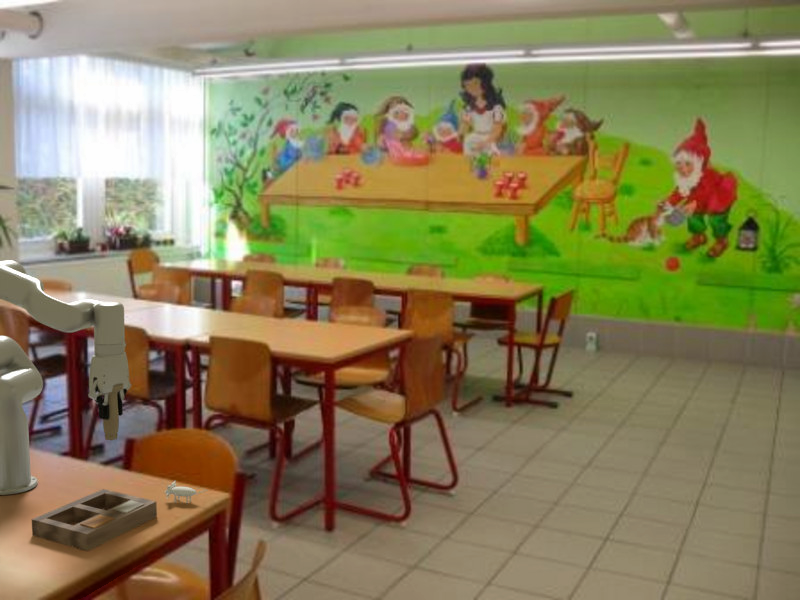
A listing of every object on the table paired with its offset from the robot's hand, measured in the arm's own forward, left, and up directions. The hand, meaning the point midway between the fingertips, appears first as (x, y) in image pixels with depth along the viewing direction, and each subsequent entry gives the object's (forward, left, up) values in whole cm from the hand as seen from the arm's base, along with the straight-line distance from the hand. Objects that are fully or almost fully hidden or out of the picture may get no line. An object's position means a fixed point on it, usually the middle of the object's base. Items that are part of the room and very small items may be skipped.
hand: (110, 416), depth 217 cm
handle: (0, 0, -7) cm, 7 cm away
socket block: (+13, -18, -21) cm, 30 cm away
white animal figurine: (+22, +4, -22) cm, 31 cm away
